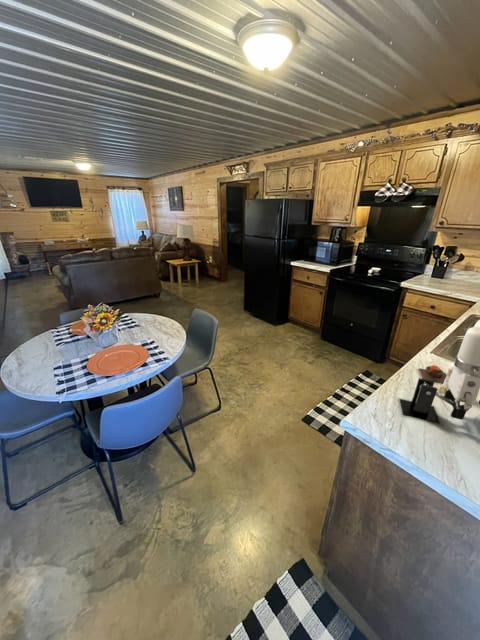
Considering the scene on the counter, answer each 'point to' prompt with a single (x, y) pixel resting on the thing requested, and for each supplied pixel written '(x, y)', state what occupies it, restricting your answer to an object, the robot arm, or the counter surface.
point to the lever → (451, 401)
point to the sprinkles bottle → (447, 378)
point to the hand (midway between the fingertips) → (452, 409)
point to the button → (435, 369)
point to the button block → (432, 375)
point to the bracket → (421, 403)
